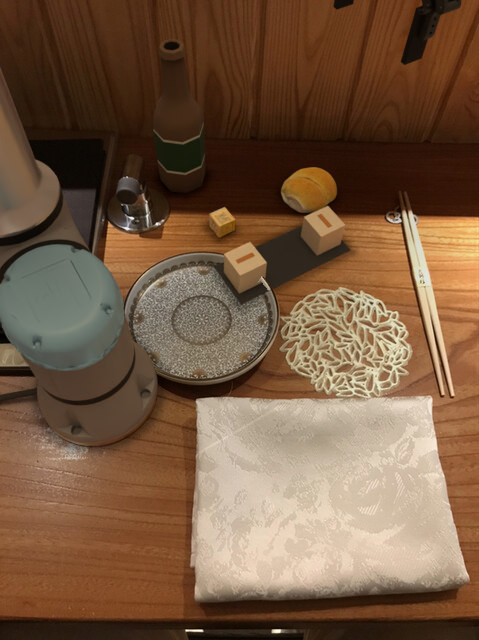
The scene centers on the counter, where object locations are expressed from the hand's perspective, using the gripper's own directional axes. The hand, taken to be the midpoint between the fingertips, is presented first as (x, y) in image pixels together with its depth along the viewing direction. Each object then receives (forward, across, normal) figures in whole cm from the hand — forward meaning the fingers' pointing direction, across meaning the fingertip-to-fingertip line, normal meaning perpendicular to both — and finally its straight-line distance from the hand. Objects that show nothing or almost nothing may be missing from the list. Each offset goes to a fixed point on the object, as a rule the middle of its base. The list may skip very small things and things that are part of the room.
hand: (375, 32), depth 71 cm
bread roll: (+28, +2, +5) cm, 28 cm away
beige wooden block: (+27, -7, +9) cm, 30 cm away
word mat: (+28, -7, +16) cm, 33 cm away
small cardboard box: (+27, -7, +23) cm, 37 cm away
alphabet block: (+28, +3, +21) cm, 35 cm away
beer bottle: (+28, +16, +21) cm, 38 cm away
